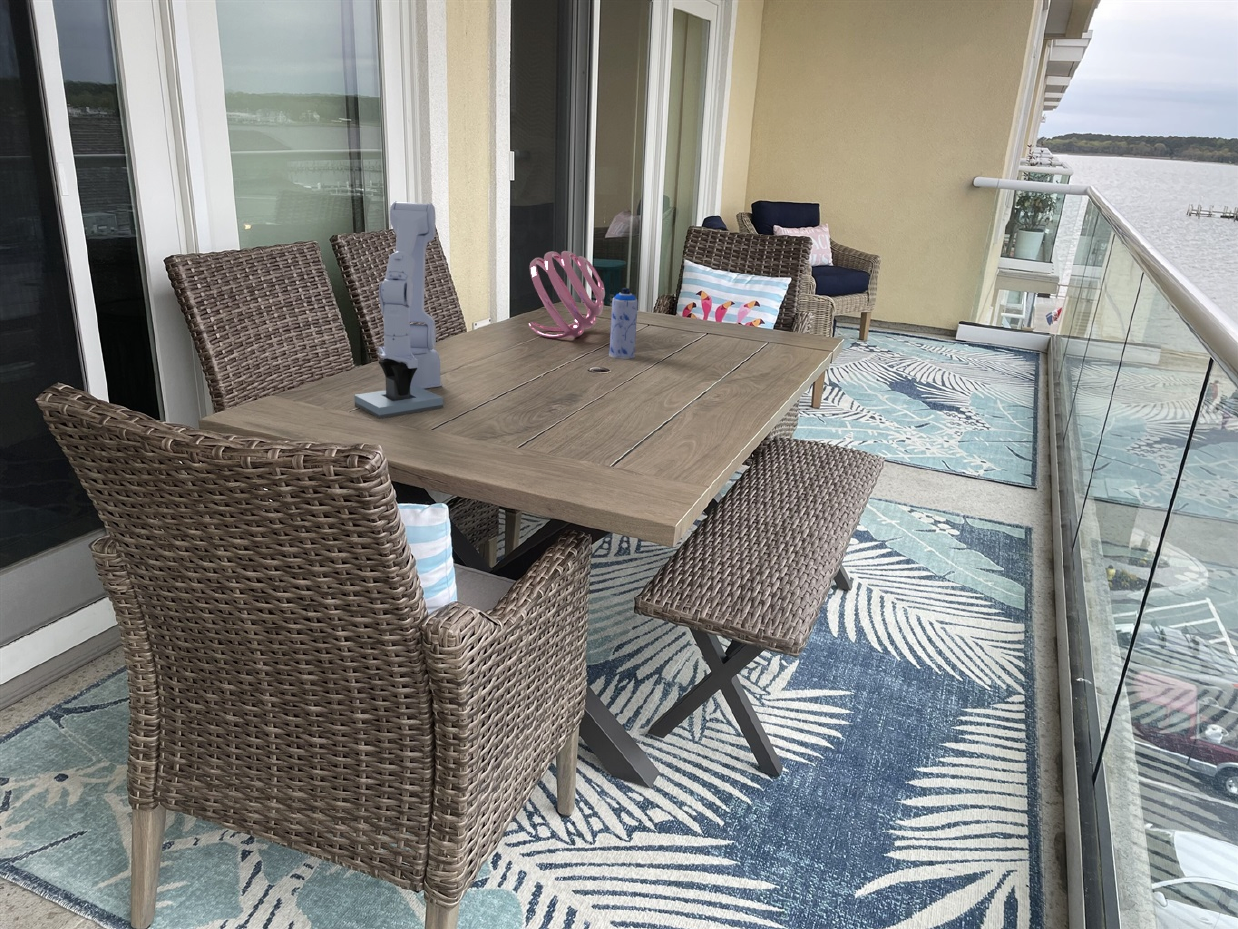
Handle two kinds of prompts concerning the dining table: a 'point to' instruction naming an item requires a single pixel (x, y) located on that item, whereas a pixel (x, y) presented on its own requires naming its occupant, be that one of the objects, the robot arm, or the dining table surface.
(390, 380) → the plug
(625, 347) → the aerosol can
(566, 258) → the spiral basket
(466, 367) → the dining table surface
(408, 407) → the pale blue socket slab
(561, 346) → the dining table surface
